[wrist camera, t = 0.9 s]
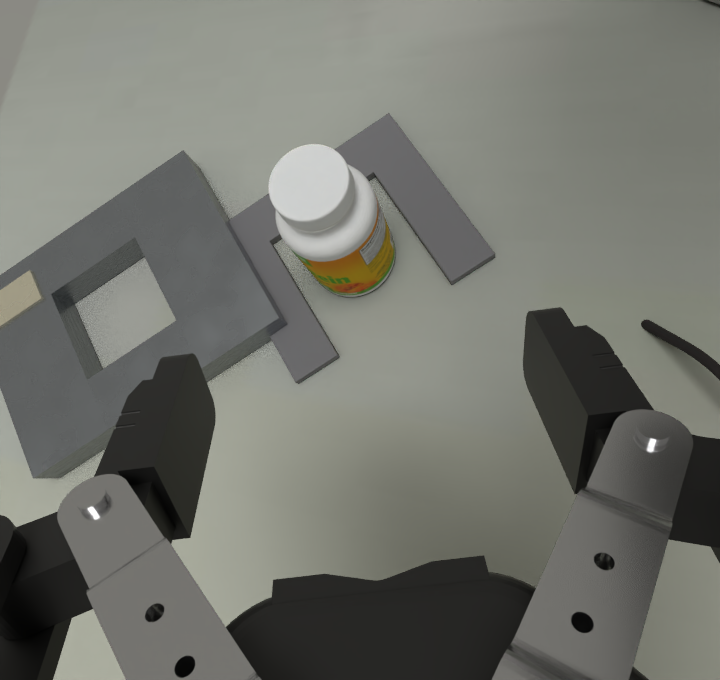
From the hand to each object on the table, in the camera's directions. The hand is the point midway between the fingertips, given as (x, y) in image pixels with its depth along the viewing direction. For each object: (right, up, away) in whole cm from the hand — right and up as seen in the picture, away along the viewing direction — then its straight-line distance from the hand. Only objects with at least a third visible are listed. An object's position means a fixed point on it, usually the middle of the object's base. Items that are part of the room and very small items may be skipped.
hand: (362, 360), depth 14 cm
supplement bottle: (0, +6, +22) cm, 23 cm away
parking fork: (0, +6, +22) cm, 22 cm away
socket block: (-15, +2, +24) cm, 29 cm away
